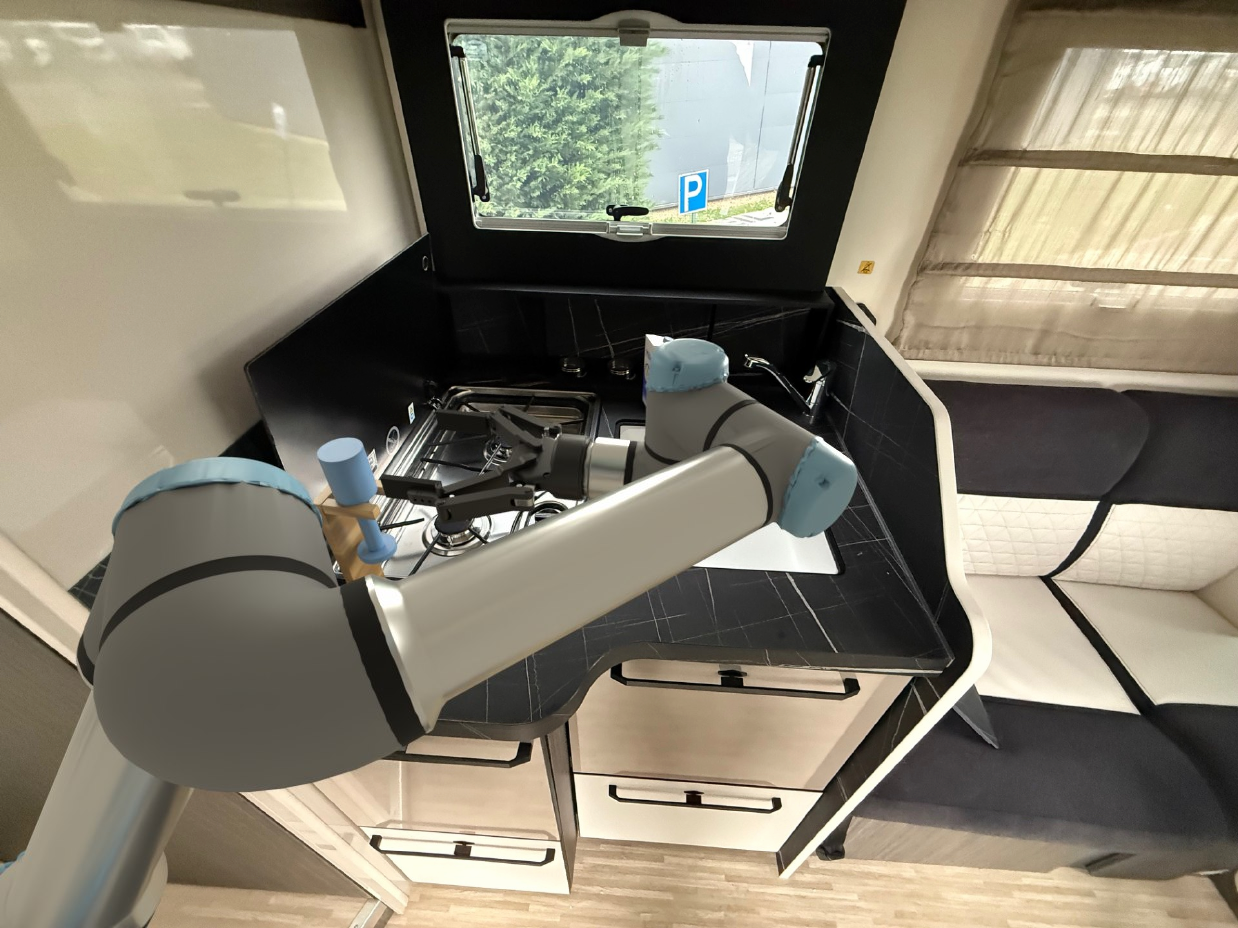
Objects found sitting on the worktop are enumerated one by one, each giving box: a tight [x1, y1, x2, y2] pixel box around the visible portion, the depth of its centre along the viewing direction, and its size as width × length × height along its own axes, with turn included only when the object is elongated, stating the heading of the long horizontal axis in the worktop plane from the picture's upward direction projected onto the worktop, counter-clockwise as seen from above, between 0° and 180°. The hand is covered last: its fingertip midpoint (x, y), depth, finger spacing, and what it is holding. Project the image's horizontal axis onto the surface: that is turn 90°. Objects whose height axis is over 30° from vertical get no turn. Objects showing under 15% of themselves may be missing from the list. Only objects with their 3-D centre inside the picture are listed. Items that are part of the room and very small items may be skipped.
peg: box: [316, 437, 398, 564], centre depth 69 cm, size 5×5×18 cm
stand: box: [312, 479, 386, 584], centre depth 77 cm, size 10×9×30 cm
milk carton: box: [641, 334, 675, 407], centre depth 139 cm, size 7×7×20 cm
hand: (413, 449), depth 61 cm, fingers open, 13 cm apart
